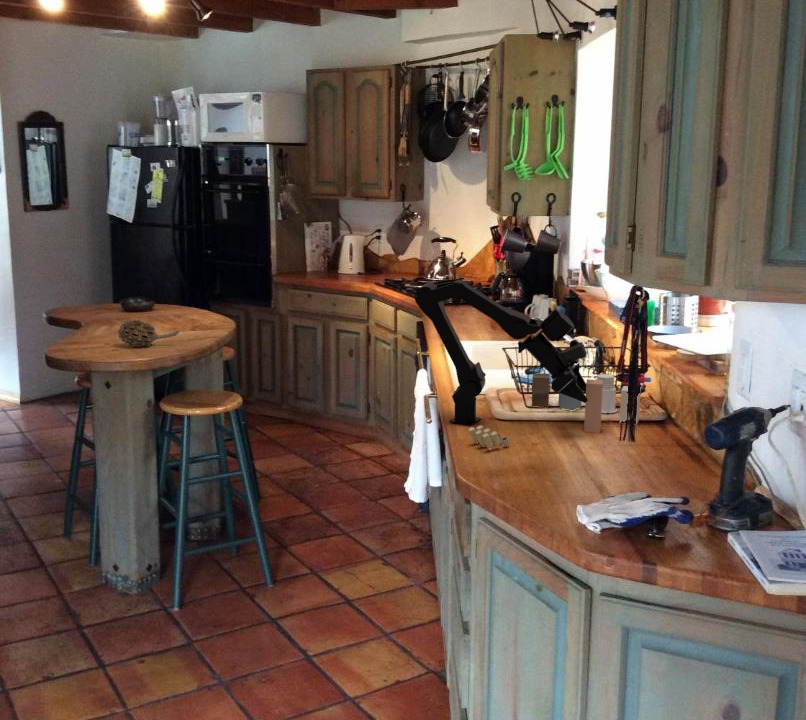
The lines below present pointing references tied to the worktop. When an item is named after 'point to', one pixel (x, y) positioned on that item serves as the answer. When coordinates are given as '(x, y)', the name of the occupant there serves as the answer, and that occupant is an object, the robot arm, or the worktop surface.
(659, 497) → the worktop surface
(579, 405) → the slate blue block
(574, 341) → the robot arm
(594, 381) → the terracotta block
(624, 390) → the cream block
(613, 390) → the downlight
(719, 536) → the worktop surface
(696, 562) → the worktop surface
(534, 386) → the walnut block
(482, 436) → the ammunition
